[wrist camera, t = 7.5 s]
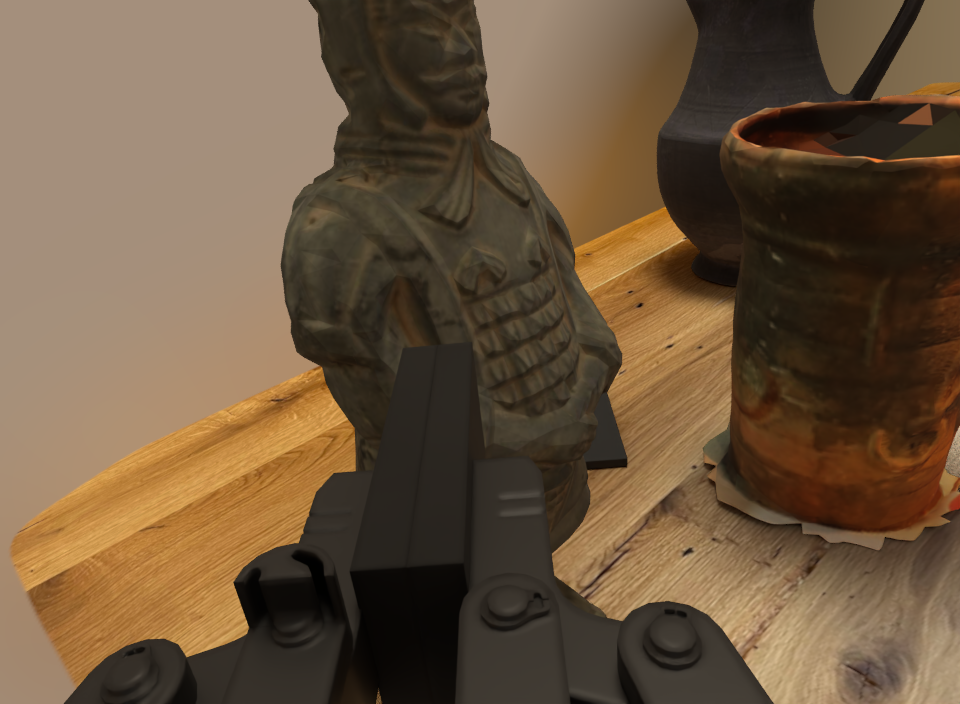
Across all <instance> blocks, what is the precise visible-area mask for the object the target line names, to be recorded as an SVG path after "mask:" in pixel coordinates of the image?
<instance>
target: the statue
mask: <svg viewBox="0 0 960 704" xmlns="http://www.w3.org/2000/svg"><path fill="white" fill-rule="evenodd" d="M309 2H310V3H311V5H312V6H313V8H314V9H315V10H316V12H317V13H318V26H319V34H320V43H321V50H322V55H321V57H322V60H323V62H324V64H325V67H326V69H327V72H328V73H329V76H330V78H331V80H332V83H333V85H334V87H335V89H336V92H337V93H338V94H339V96H340V97H341V98H342V99H343V101H344V102H345V105H346V107H347V110H348V112H349V115H348V117H346V119H345V120H344V121H343V122H342V123H341V124H340V125H339V127H338V131H337V136H336V142H335V145H334V152H335V158H334V166H333V167H332V168H331V169H330V170H328V171H327V172H325V173H323V174H321V175H320V176H318V177H316V178H315V179H314V182H313V184H309V185H307V186H306V187H304V188H303V190H302V191H301V192H300V194H299V195H298V196H297V198H296V199H295V201H294V204H293V209H292V215H291V218H290V221H289V223H288V226H287V230H286V233H285V239H284V246H283V252H282V259H281V271H282V277H283V283H284V294H285V302H286V306H287V309H288V312H289V316H290V319H291V334H292V338H293V341H294V344H295V348H296V351H297V353H299V354H300V355H301V356H303V357H304V358H306V359H308V360H310V361H312V362H314V363H316V364H318V365H320V366H322V368H323V372H324V377H325V381H326V384H327V386H328V388H329V390H330V392H331V394H332V396H333V398H334V399H335V401H336V402H337V404H338V405H339V407H340V408H341V410H342V411H343V412H344V414H345V415H346V417H347V418H348V420H349V421H350V422H351V424H352V425H353V426H354V428H355V446H356V471H367V470H374V467H375V462H376V458H377V454H378V450H379V446H380V442H381V437H382V433H383V429H384V425H385V421H386V416H387V412H388V408H389V404H390V400H391V395H392V391H393V387H394V383H395V379H396V375H397V370H398V366H399V362H400V358H401V354H402V349H403V348H408V347H419V346H431V345H442V344H453V343H464V342H472V344H473V352H474V361H475V369H476V377H477V386H478V394H479V402H480V411H481V419H482V427H483V435H484V444H485V459H492V458H505V457H517V456H529V457H530V458H531V460H532V461H533V462H534V463H535V464H536V466H537V467H538V468H539V469H540V471H541V472H542V477H543V486H544V495H545V503H546V512H547V520H548V528H549V536H550V545H551V553H553V552H554V551H555V550H556V549H558V548H559V547H560V546H561V545H562V544H563V543H564V542H565V541H566V540H568V539H569V538H570V537H571V535H572V534H573V533H574V532H575V530H576V529H577V528H578V527H579V526H580V524H581V523H582V522H583V520H584V517H585V515H586V512H587V510H588V508H589V505H590V490H589V487H588V484H587V479H588V473H587V467H586V462H585V459H584V456H583V454H584V453H586V452H587V451H588V450H589V449H590V447H591V443H592V441H593V440H594V439H595V437H596V428H597V426H598V421H597V419H596V417H595V415H594V411H595V408H596V406H597V404H598V401H599V399H600V397H601V394H603V393H606V392H608V390H609V388H610V386H611V384H612V382H613V380H614V378H615V377H616V375H617V373H618V371H619V369H620V367H621V365H622V353H621V351H620V349H619V347H618V344H617V340H616V337H615V334H614V333H613V331H612V330H611V329H610V328H609V327H608V326H607V323H606V321H605V320H604V318H603V316H602V315H601V313H600V312H599V310H598V309H597V307H596V305H595V304H594V302H593V301H592V299H591V298H590V296H589V295H588V293H587V292H586V290H585V289H584V287H583V285H582V283H581V281H580V279H579V277H578V276H577V274H576V272H575V270H574V266H575V252H574V249H573V245H572V242H571V238H570V235H569V231H568V229H567V227H566V225H565V223H564V221H563V219H562V217H561V215H560V213H559V212H558V210H557V209H556V207H555V206H554V205H553V204H552V203H551V201H550V200H549V199H548V198H547V196H546V195H545V193H544V191H543V190H542V188H541V186H540V185H539V184H538V183H537V181H536V180H535V179H534V178H533V177H532V176H531V175H530V174H529V172H528V171H527V170H526V168H525V166H524V165H523V163H522V161H521V159H520V158H519V157H518V156H516V155H515V154H513V153H512V152H510V151H509V150H507V149H506V148H504V147H502V146H501V145H499V144H497V143H495V142H494V141H492V140H490V139H491V128H490V123H489V119H488V114H487V110H488V107H489V100H488V96H487V91H486V88H485V85H486V80H487V72H486V67H485V61H484V56H483V50H482V40H481V30H480V25H479V22H478V19H477V16H476V7H475V5H474V0H309ZM554 577H555V576H554ZM555 580H556V584H557V587H558V588H559V590H560V591H561V593H562V594H563V596H564V597H565V598H566V599H567V600H568V601H570V602H571V603H572V604H573V605H574V606H576V607H578V608H580V609H581V610H583V611H585V612H587V613H590V614H594V615H597V616H600V617H604V618H607V617H606V615H605V614H604V613H603V611H602V610H601V609H600V608H598V607H596V606H594V605H593V604H591V603H589V602H588V601H587V600H586V599H584V598H583V597H582V596H581V595H579V594H578V593H577V592H576V591H574V590H573V589H572V588H570V587H569V586H568V585H566V584H565V583H564V582H562V581H561V580H559V579H558V578H557V577H555Z"/></svg>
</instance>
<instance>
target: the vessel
mask: <svg viewBox="0 0 960 704" xmlns="http://www.w3.org/2000/svg"><path fill="white" fill-rule="evenodd" d="M719 155H720V163H721V170H722V172H723V174H724V177H725V179H726V181H727V184H728V186H729V188H730V190H731V191H732V193H733V195H734V197H735V199H736V201H737V203H738V204H739V209H740V215H741V220H742V231H743V246H742V254H741V262H740V270H739V276H738V282H737V288H736V295H735V306H734V317H733V344H732V359H731V372H732V400H731V415H730V422H729V425H728V428H727V430H726V431H724V432H722V433H721V434H719V435H718V436H716V437H715V438H713V439H711V440H710V441H709V442H708V443H707V444H706V445H705V446H704V448H703V451H704V455H705V456H704V462H705V463H708V464H712V465H716V467H715V468H714V469H713V470H712V471H711V472H710V473H709V474H708V475H707V477H709V478H710V479H712V480H713V481H714V482H716V494H717V499H718V500H720V501H722V502H724V503H727V504H729V505H731V506H733V507H736V508H738V509H739V510H741V511H743V512H745V513H746V514H748V515H750V516H752V517H754V518H756V519H759V520H762V521H765V522H767V523H770V524H794V523H802V531H803V534H817V535H820V536H821V537H823V538H824V539H825V540H826V541H828V542H829V543H840V542H843V541H844V542H849V543H854V544H858V545H862V546H865V547H868V548H871V549H875V550H878V551H879V550H880V548H881V547H882V545H883V542H884V538H885V537H888V538H893V539H898V540H911V541H914V540H915V539H916V538H917V537H918V536H919V535H920V534H921V532H922V531H923V529H924V527H926V526H941V525H943V524H946V523H948V522H951V521H949V520H947V519H945V518H943V517H941V515H943V514H945V513H947V512H949V511H953V510H957V509H960V492H958V491H957V490H958V487H959V485H960V478H958V477H956V476H953V475H950V474H948V473H947V471H946V469H945V464H946V460H947V456H948V453H949V450H950V448H951V445H952V442H953V440H954V437H955V434H956V432H957V430H958V428H959V426H960V97H958V96H949V95H895V96H894V95H893V96H888V97H881V98H878V99H875V100H872V101H838V102H831V103H811V102H802V103H799V104H795V105H791V106H787V107H783V108H765V109H763V110H761V111H759V112H757V113H755V114H753V115H750V116H748V117H746V118H743V119H741V120H738V121H737V122H735V123H734V124H733V125H732V127H731V129H730V130H729V132H728V133H727V134H726V135H725V136H724V137H723V140H722V144H721V149H720V154H719Z"/></svg>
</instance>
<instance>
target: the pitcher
mask: <svg viewBox="0 0 960 704" xmlns="http://www.w3.org/2000/svg"><path fill="white" fill-rule="evenodd" d="M686 1H687V3H688V5H689V8H690V10H691V12H692V14H693V17H694V19H695V22H696V24H697V28H698V32H699V33H698V41H697V45H696V49H695V53H694V57H693V61H692V65H691V69H690V72H689V75H688V79H687V82H686V85H685V87H684V90H683V92H682V95H681V97H680V100H679V102H678V104H677V106H676V108H675V109H674V111H673V112H672V114H671V115H670V117H669V118H668V120H667V121H666V122H665V124H664V125H663V127H662V128H661V130H660V132H659V135H658V143H657V174H658V183H659V188H660V192H661V195H662V198H663V201H664V204H665V206H666V208H667V210H668V212H669V214H670V217H671V218H672V220H673V221H674V222H675V224H676V225H677V227H678V228H679V229H680V230H681V231H682V232H683V233H684V234H685V236H686V237H687V238H688V239H689V240H690V241H691V242H692V243H693V244H694V245H695V246H696V247H697V248H698V249H699V251H700V253H699V254H698V255H697V256H696V257H695V259H694V261H693V262H692V265H691V268H692V270H693V272H694V273H695V274H696V275H698V276H699V277H701V278H703V279H706V280H709V281H712V282H715V283H719V284H723V285H730V286H737V282H738V276H739V270H740V262H741V254H742V246H743V231H742V220H741V215H740V209H739V204H738V203H737V201H736V199H735V197H734V195H733V193H732V191H731V190H730V188H729V186H728V184H727V181H726V179H725V177H724V174H723V172H722V170H721V163H720V155H719V154H720V149H721V144H722V140H723V137H724V136H725V135H726V134H727V133H728V132H729V130H730V129H731V127H732V125H733V124H734V123H735V122H737V121H738V120H741V119H743V118H746V117H748V116H750V115H753V114H755V113H757V112H759V111H761V110H763V109H765V108H783V107H787V106H791V105H795V104H799V103H802V102H811V103H831V102H838V101H870V100H871V98H872V96H873V94H874V92H875V91H876V89H877V87H878V85H879V83H880V82H881V80H882V78H883V77H884V75H885V73H886V71H887V70H888V68H889V66H890V64H891V62H892V61H893V59H894V57H895V55H896V53H897V52H898V50H899V48H900V46H901V45H902V43H903V41H904V39H905V38H906V36H907V34H908V32H909V31H910V29H911V27H912V25H913V24H914V22H915V20H916V18H917V16H918V14H919V12H920V9H921V7H922V5H923V3H924V0H905V1H904V3H903V5H902V7H901V9H900V11H899V13H898V15H897V17H896V18H895V20H894V22H893V24H892V26H891V28H890V30H889V31H888V33H887V35H886V36H885V38H884V40H883V41H882V43H881V44H880V46H879V48H878V50H877V51H876V53H875V55H874V57H873V58H872V60H871V61H870V63H869V65H868V66H867V68H866V69H865V71H864V72H863V74H862V75H861V77H860V78H859V80H858V81H857V83H856V84H855V86H854V88H853V89H852V91H851V92H850V93H849V94H846V95H842V94H838V93H837V92H836V91H834V90H833V88H832V87H831V85H830V83H829V81H828V78H827V75H826V73H825V70H824V67H823V64H822V61H821V57H820V54H819V49H818V45H817V40H816V35H815V30H814V21H813V9H814V1H815V0H686Z"/></svg>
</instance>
